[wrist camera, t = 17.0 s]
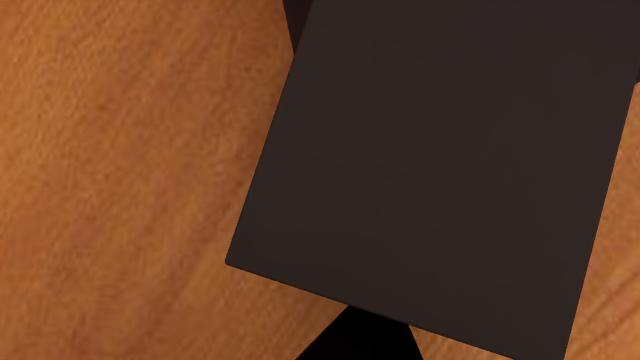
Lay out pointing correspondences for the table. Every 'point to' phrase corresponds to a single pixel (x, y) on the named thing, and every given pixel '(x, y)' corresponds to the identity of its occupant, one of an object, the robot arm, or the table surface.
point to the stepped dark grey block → (446, 163)
